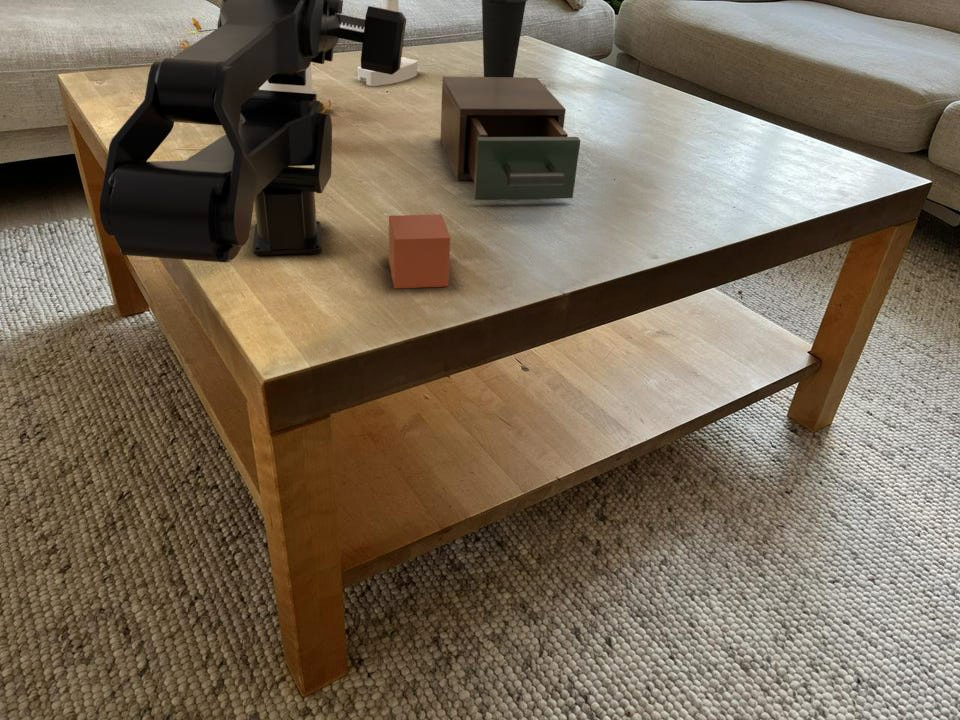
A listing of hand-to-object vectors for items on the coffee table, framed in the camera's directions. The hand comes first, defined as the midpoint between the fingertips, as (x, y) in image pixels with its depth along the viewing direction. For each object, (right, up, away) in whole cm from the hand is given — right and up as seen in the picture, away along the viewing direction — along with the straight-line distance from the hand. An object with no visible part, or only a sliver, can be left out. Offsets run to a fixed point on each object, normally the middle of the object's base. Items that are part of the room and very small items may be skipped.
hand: (330, 25), depth 88 cm
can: (-7, -10, +11) cm, 17 cm away
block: (+11, -31, -16) cm, 36 cm away
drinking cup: (+20, +8, +41) cm, 46 cm away
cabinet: (+19, -13, +11) cm, 26 cm away
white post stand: (+1, +9, +40) cm, 41 cm away
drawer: (+22, -18, +1) cm, 28 cm away
